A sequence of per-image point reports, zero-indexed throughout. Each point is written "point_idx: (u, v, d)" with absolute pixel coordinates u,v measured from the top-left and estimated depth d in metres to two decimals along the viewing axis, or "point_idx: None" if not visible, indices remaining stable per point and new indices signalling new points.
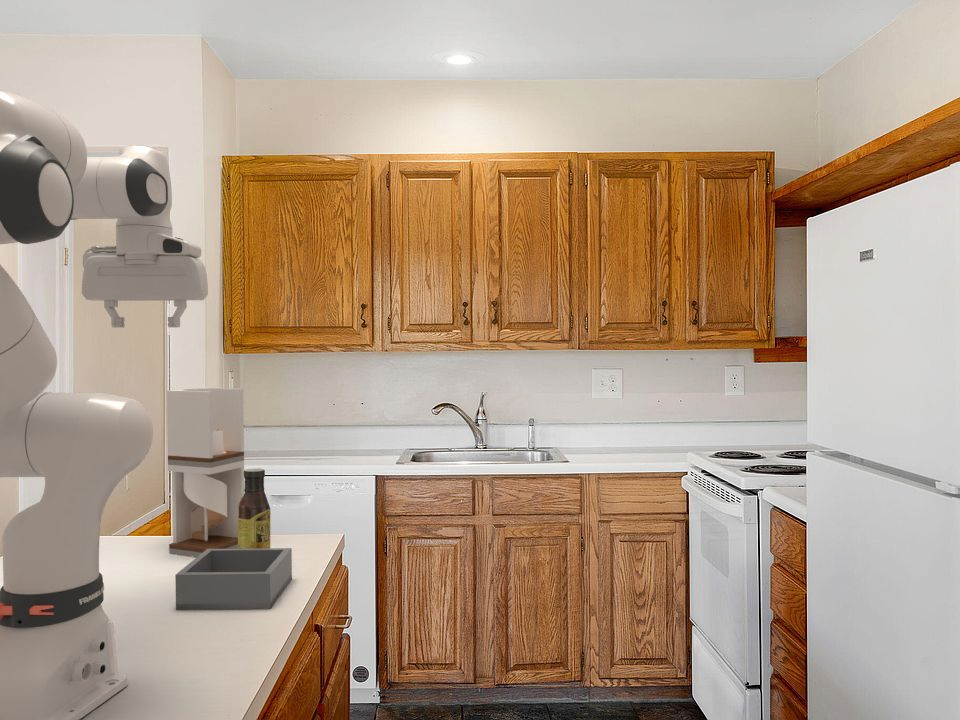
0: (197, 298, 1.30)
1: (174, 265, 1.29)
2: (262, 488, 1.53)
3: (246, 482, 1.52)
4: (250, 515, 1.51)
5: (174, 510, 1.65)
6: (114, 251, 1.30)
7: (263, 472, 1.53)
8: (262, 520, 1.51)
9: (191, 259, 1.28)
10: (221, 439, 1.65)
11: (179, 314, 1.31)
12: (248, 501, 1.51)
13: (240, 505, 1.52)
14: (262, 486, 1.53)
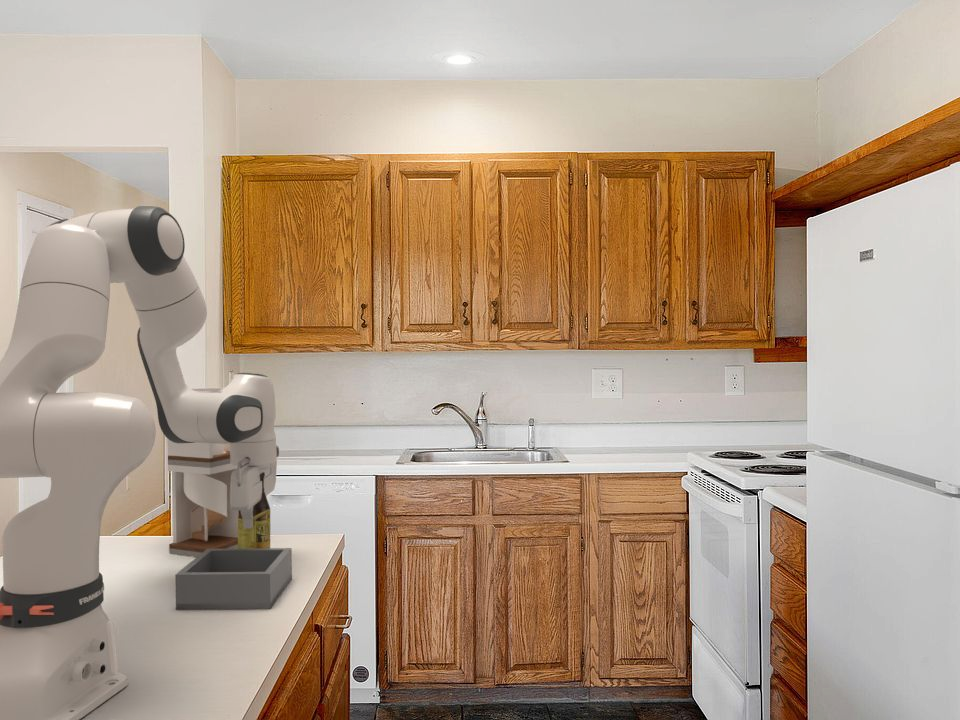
0: (273, 489, 1.63)
1: (270, 466, 1.59)
2: (262, 488, 1.53)
3: None
4: None
5: (174, 510, 1.65)
6: (248, 463, 1.48)
7: (263, 472, 1.53)
8: (262, 520, 1.51)
9: None
10: None
11: None
12: None
13: None
14: (262, 485, 1.53)
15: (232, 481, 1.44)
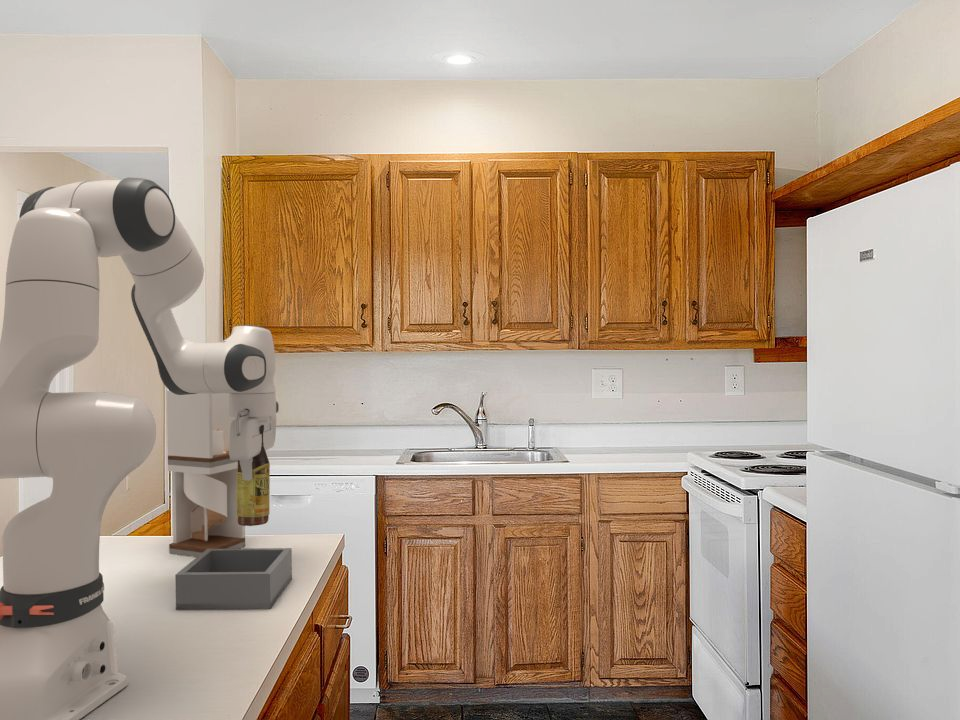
0: (272, 446, 1.62)
1: (269, 421, 1.58)
2: None
3: None
4: None
5: (174, 510, 1.65)
6: (247, 414, 1.48)
7: (262, 426, 1.53)
8: (261, 474, 1.51)
9: None
10: (221, 439, 1.65)
11: None
12: None
13: None
14: (262, 440, 1.53)
15: (231, 431, 1.43)
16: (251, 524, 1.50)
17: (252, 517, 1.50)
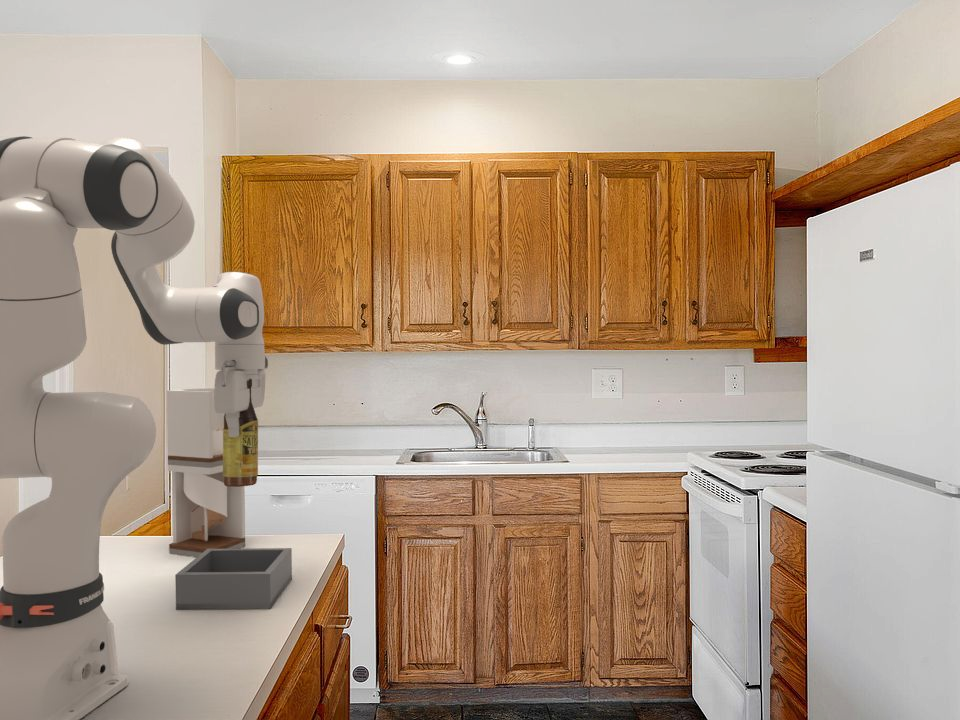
0: (261, 405, 1.53)
1: (258, 377, 1.49)
2: None
3: None
4: None
5: (174, 510, 1.65)
6: (234, 365, 1.38)
7: (250, 381, 1.43)
8: (249, 431, 1.41)
9: None
10: (221, 439, 1.65)
11: None
12: None
13: (225, 415, 1.42)
14: None
15: (216, 381, 1.34)
16: (238, 484, 1.40)
17: (239, 477, 1.40)
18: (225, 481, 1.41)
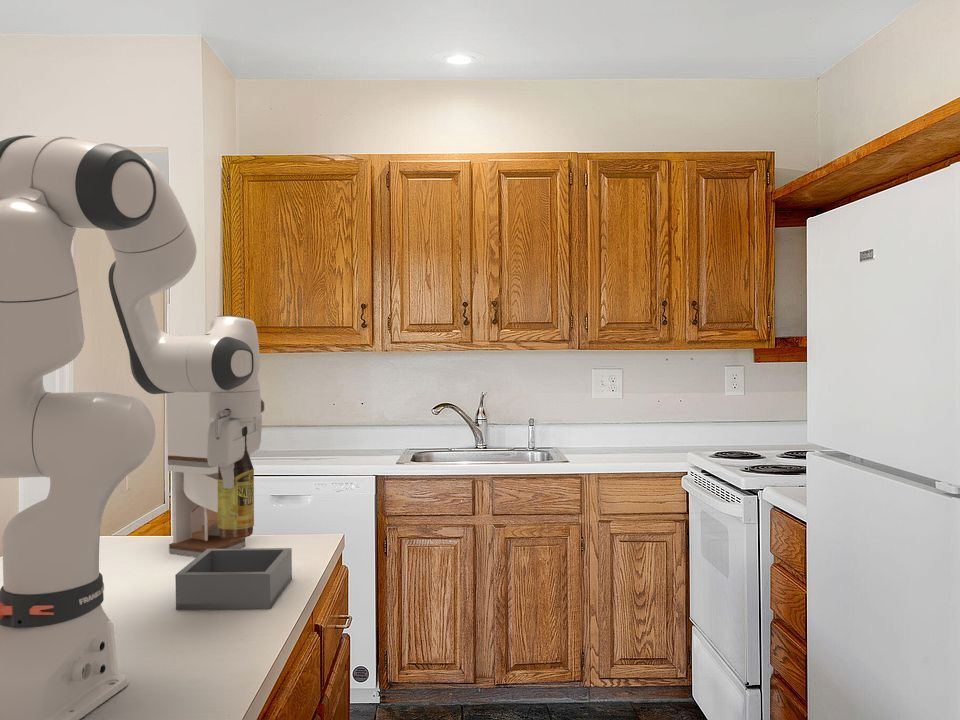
0: (257, 449, 1.47)
1: (254, 422, 1.44)
2: None
3: None
4: None
5: (174, 510, 1.65)
6: (228, 415, 1.33)
7: (245, 428, 1.38)
8: (244, 481, 1.36)
9: (261, 415, 1.47)
10: None
11: None
12: None
13: None
14: (245, 443, 1.38)
15: (210, 434, 1.28)
16: (234, 537, 1.35)
17: (235, 529, 1.35)
18: (220, 533, 1.36)
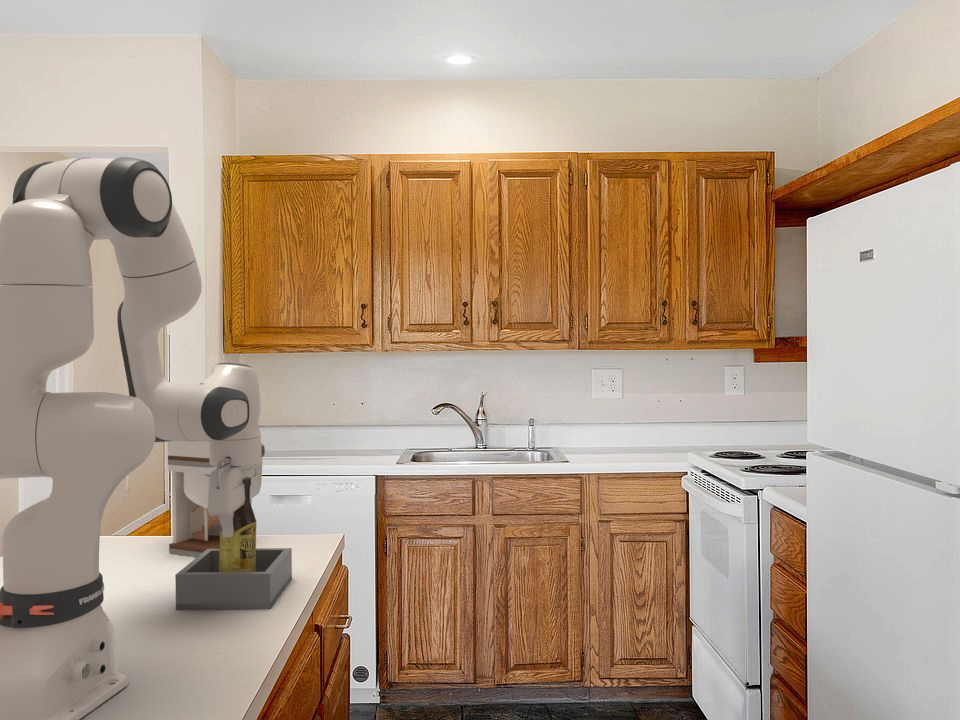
0: None
1: (254, 467, 1.44)
2: (248, 498, 1.38)
3: None
4: None
5: (174, 510, 1.65)
6: (228, 463, 1.33)
7: (249, 481, 1.39)
8: (247, 534, 1.37)
9: None
10: None
11: None
12: None
13: None
14: (248, 496, 1.38)
15: (210, 483, 1.29)
16: None
17: None
18: None
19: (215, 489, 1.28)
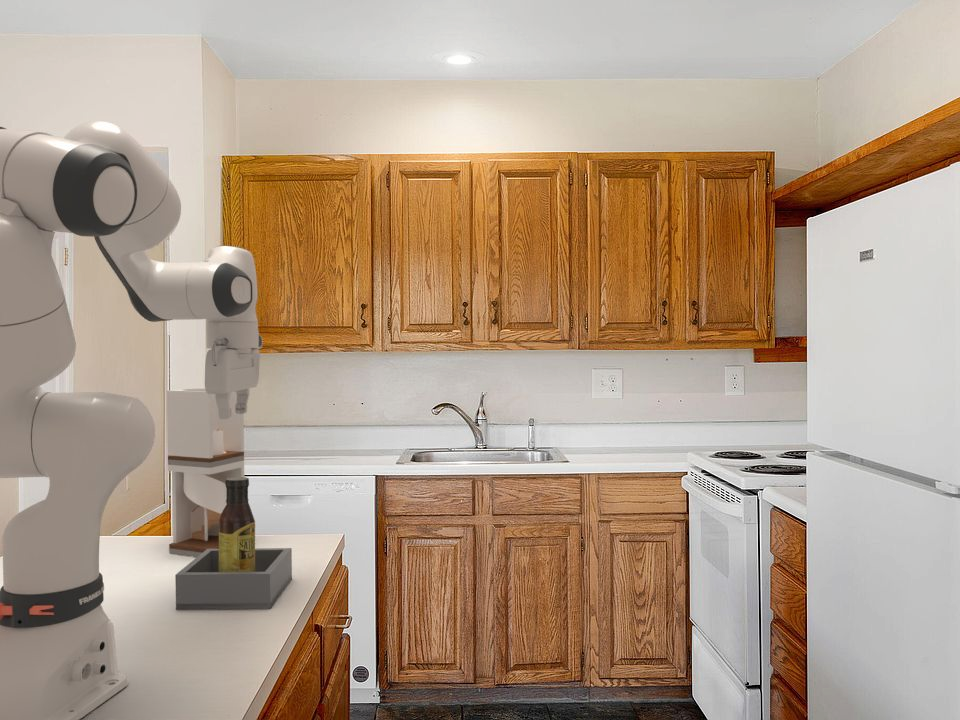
0: (255, 385, 1.47)
1: (252, 357, 1.43)
2: (246, 499, 1.38)
3: (228, 493, 1.37)
4: (232, 529, 1.36)
5: (174, 510, 1.65)
6: (225, 344, 1.33)
7: (247, 481, 1.38)
8: (246, 534, 1.36)
9: (259, 352, 1.46)
10: (221, 439, 1.65)
11: None
12: (230, 513, 1.36)
13: (221, 518, 1.37)
14: (246, 496, 1.38)
15: (207, 360, 1.28)
16: None
17: None
18: None
19: (212, 366, 1.28)
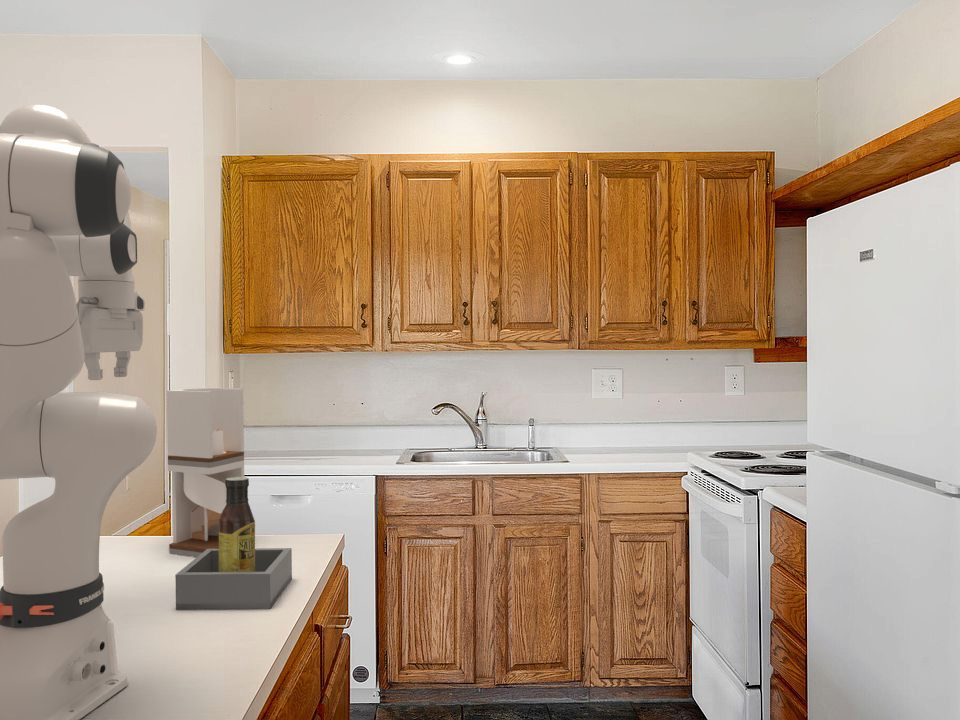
0: (139, 349, 1.43)
1: (132, 319, 1.40)
2: (246, 499, 1.38)
3: (228, 493, 1.37)
4: (232, 529, 1.36)
5: (174, 510, 1.65)
6: (95, 303, 1.29)
7: (247, 481, 1.38)
8: (246, 534, 1.36)
9: None
10: (221, 439, 1.65)
11: None
12: (230, 513, 1.36)
13: (221, 518, 1.37)
14: (246, 496, 1.38)
15: None
16: None
17: None
18: None
19: None
